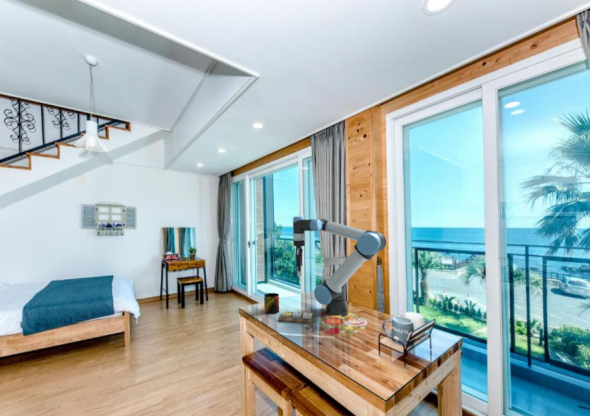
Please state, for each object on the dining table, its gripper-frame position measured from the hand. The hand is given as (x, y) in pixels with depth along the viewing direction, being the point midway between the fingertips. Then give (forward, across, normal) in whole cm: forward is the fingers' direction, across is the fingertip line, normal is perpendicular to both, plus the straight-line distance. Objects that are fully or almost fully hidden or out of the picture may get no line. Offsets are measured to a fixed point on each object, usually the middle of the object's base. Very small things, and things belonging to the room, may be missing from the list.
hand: (299, 276), depth 172 cm
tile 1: (+24, +11, -6) cm, 27 cm away
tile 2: (+24, +11, +6) cm, 27 cm away
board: (+24, +11, 0) cm, 27 cm away
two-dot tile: (+24, +11, 0) cm, 26 cm away
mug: (+25, 0, -20) cm, 32 cm away
